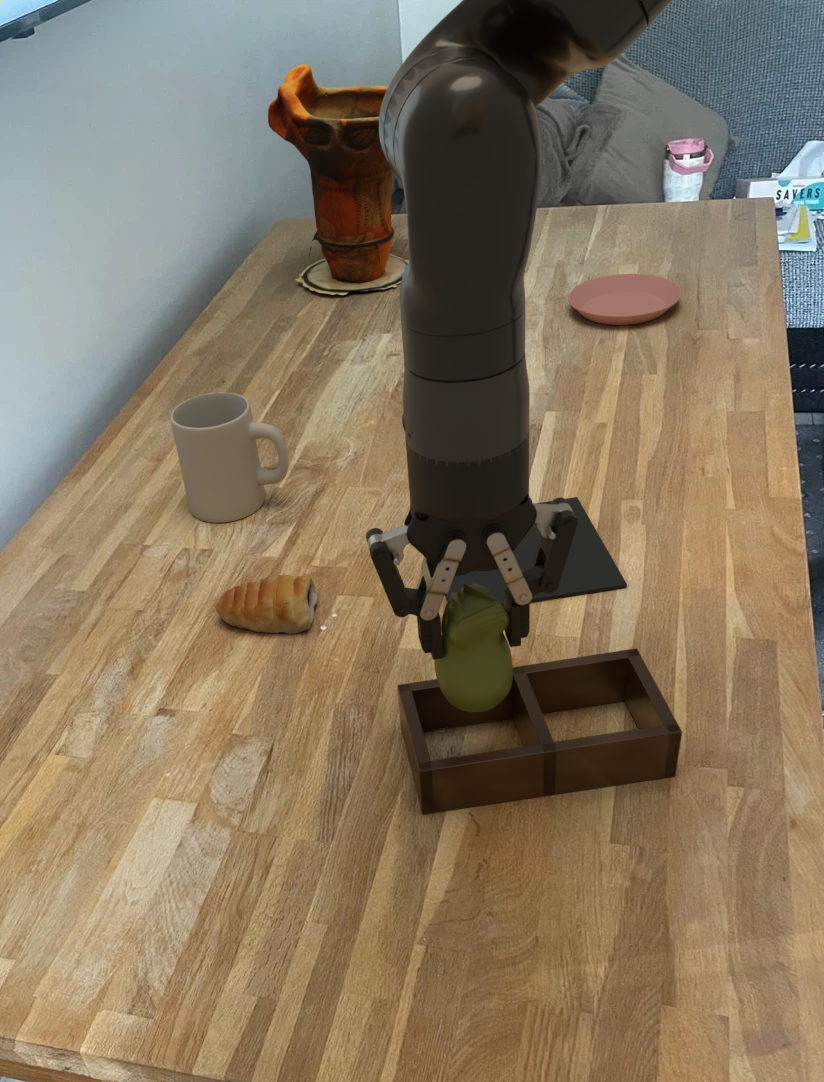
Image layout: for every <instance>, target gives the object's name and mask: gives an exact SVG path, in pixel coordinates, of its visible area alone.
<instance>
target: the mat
mask: <svg viewBox="0 0 824 1082" xmlns="http://www.w3.org/2000/svg"><path fill="white" fill-rule="evenodd" d="M565 499H566V501H567V502H568V504H569V505H570V507H571V509H572V511H573V512H574V515H575V517H576V519H577V521H578V524H577V528H576V531H575V534H574V537H573V541H572V544H571V547H570V550H569V554H568V557H567V560H566V563H565V567H564V570H563V573H562V576H561V580H560V583H559V586H558V588H557V590H556V591H554V592H552V593H544V592H541V593H539V594H537V595H535V596H534V597H533V598H532V600H531V601H530V604H532V603H537V602H543V601H549V600H556V599H562V598H568V597H575V596H582V595H588V594H593V593H600V592H607V591H613V590H621V589H626V588H628V582H626V580H625V578H624V577H623V575H622V573H621V571H620V570H619V568H618V566H617V564H616V562H615V560H614V559H613V557H612V555H611V554H610V551H609V550H608V548H607V546H606V545H605V543H604V541H603V540H602V538H601V536H600V534H599V533H598V531H597V529H596V528H595V526H594V524H593V523H592V520H591V519H590V517H589V515H588V513H587V512H586V510H585V507H583V505H582V503H581V501H580V500H579V498H578V497H577V496H574V497H568V498H567V497H566V498H565ZM552 501H553V500H549V501H542V502H535V503H536V504H550V503H551V502H552ZM540 538H541V534H540V532H539V530H538V527H537V523H534V525H533V526H532V527H531V529H530V530H529V531H528V533H527V534H526V535H525V537H524V538H523V539H522V541H521V542H520V543H519V545H518V546H517V547H516V549H515V550H514V552H513V554H514V556H515V558H516V560H517V562H518V564H519V567H520V569H521V571H522V572H523V571H525V570H528V569H530V568H532V566H533V562H534V559H535V555H536V552H537V548H538V545H539V541H540ZM463 584H465V585H467V586H469V585H472V584H478V585H481V586H484V587H485V588H487V589H488V590H489V592H490V593H491V594H492V595H493V597H494V598H495V599H496V600H497V601H498V602H500V603H501V605H502V606H503V607H504V589H507V584H506V582H505V580H504V578H503V576H502V574H501V572H500V570H499V567H498V569H497V570H491V571H472V572H470V573H467V574H465V575H461V576H455V577H454V578H453V581H452V584H451V587H450V589H449V592H448V594H447V595H444V597H445V598H446V601H447V602H448V601H449V600H450V596H451V594H452V593H453V592H458V591H461V588H462V586H463Z"/></svg>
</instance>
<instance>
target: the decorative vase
mask: <svg viewBox="0 0 824 1082" xmlns="http://www.w3.org/2000/svg"><path fill="white" fill-rule="evenodd" d="M388 86H389V85H388ZM388 86H387V85H349V86H338V87H337V86H336V87H326V86H325V87H324V86H321V85H319V84H318V83H317V82H316V81H315V78H314V76H313V69H312V67H311V65H309V64H307V63H302V64H299V65H297V66H294V67H293V68H291V69H290V70H289V71H288V72H287V73H286V75H285V79H284V82H283V83H281V84H280V85H279V87H278V88H277V96H276V98H275V99H273V100H272V101H271V102H270V103H269V105H268V109H267V124H268V127H269V128H270V129H271V131H273V132H274V133H275V134H277V135H278V136H279V137H280V138H282V139H283V140H284V141H286V142H287V143H290V144H292V145H293V146H294V147H295V148H296V150H298V152H299V153H300V154H301V156H302V157H304V159H305V160H306V162H307V163H308V166H309V167H308V168H309V170H310V181H311V193H312V199H313V210H314V218H315V219H314V220H315V227H316V231H315V234H313V238H312V240H311V241H312V242H313V241H317V242H318V243H319V244H320V246H321V247H320V249H321V254H322V256H323V257H324V258H321V259H318V260H317V261H315V262H314V263H312V264H310V265H307V266H305V267H304V270H302V273H300V274H298V276H299V277H298V278H296V279H294V280H295V281H296V282H299V283H301V284H302V287H304V288H308V289H309V291H312V292H313V291H315V292H316V293H320V294H328V295H332V296H333V295H339V296H344V295H345V296H346V295H347V294H348V293H351V292H354V291H357V292H367V291H373V290H386V289H389V288H396V287H398V285H399V284H401V281H402V275H403V273H404V270H405V268H406V266H407V265H408V264H409V259H404V258H402V257H400V256H396V255H395V254H393V253H390V251H391V248H392V243H393V240H394V236H395V229H394V227H393V226H392V187H393V185H392V184H393V173H394V171H393V169H392V168H391V166H390V165H389V163H388V161H387V160H386V158H385V155H384V153H383V150H382V147H381V143H380V137H379V115H380V109H381V105H382V102H383V99H384V96H385V93H386V91H387V88H388ZM312 248H313V247H312V246H310V248H309V254H308V257H310V255H311V251H312Z"/></svg>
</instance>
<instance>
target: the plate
mask: <svg viewBox="0 0 824 1082" xmlns="http://www.w3.org/2000/svg"><path fill="white" fill-rule="evenodd" d="M682 296H683V291H682V289H681V286H679V285H678V284H677V283H676V282H675V281H673V280H670V279H669V278H666V277H662V276H658V275H653V274H646V273H618V274H611V275H603V276H599V277H595V278H592V279H589V280H586V281H583V282H581V283H580V284H578V285H576V286H575V287H574V288H573V289H571V290H570V291H569V293H568V296H567V300H568V303H569V304H570V306H571V307H573V308H574V309H575V310H576V311H577V312H578V313H579V314H580V315H582V316H583V317H584V318H585V319H587V320H589V321H591V322H594V323H598V324H602V325H607V326H609V325H610V326H611V325H612V326H629V325H637V324H642V323H643V324H644V323H646V322H649V321H652V320H655V319H657V318H659V317H660V316H662V315H663V314H665V313H666V312H667V311H668V310H669V309H671V308H672V307H673V306H674V305H676V304H677V303H678V302H679V301H680V300H681V298H682Z"/></svg>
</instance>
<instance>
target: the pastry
mask: <svg viewBox="0 0 824 1082" xmlns="http://www.w3.org/2000/svg"><path fill="white" fill-rule="evenodd" d="M318 597H319V594H318V590H317V589H316V585H315V581H314V580H313V578H312V577H311V576H310V575H309V574H307V573H303V574H302V575H290V574H275V573H274V574H273V573H272V574H269V575H267V576H266V577H264V578H262V579H257V580H255V581H252V582H250V581H249V582H243V583H241V584H240V585H237V586H234V587H232V588H229V589H227V590H226V591H225V592H224V593H223V594H222V595H221V597H220V598H219V600H218V602H217V603H216V605H215V610H216V612H217V614H218V615H219V616H220V618H221V619H222V620H223V621H224V622H225V623H226V624H229V625H231V626H232V627H237V628H239V629H247V630H250V631H252V632H257V633H261V632H263V633H267V634H279V633H285V634H298V633H302V632H305V631H307V630H309V629H310V628H311V627H312V624H313V623H314V622H313V621H314V618H315V616H314V614H315V612H314V611H315V610H314V607H315V606H316V605H317V603H318Z"/></svg>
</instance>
